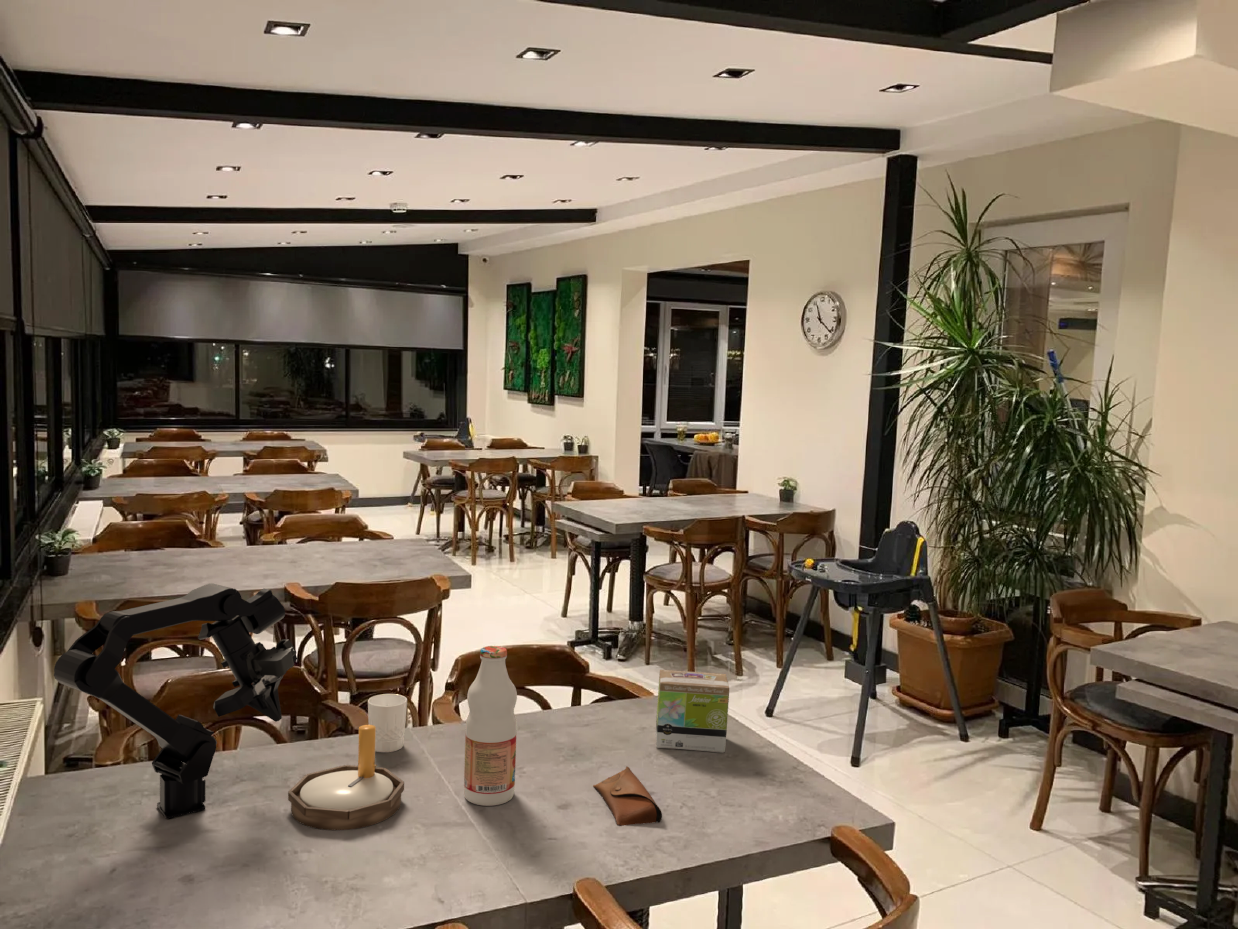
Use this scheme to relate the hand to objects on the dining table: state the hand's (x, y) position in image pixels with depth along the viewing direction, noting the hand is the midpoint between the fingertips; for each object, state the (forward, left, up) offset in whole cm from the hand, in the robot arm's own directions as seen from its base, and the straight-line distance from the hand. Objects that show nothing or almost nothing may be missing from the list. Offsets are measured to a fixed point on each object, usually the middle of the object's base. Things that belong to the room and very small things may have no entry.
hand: (278, 720), depth 177 cm
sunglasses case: (+49, -42, -14) cm, 66 cm away
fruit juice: (+30, -25, -13) cm, 41 cm away
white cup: (+25, +7, -13) cm, 29 cm away
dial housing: (+7, -14, -13) cm, 20 cm away
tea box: (+80, -27, -13) cm, 86 cm away
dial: (+7, -14, -11) cm, 19 cm away
